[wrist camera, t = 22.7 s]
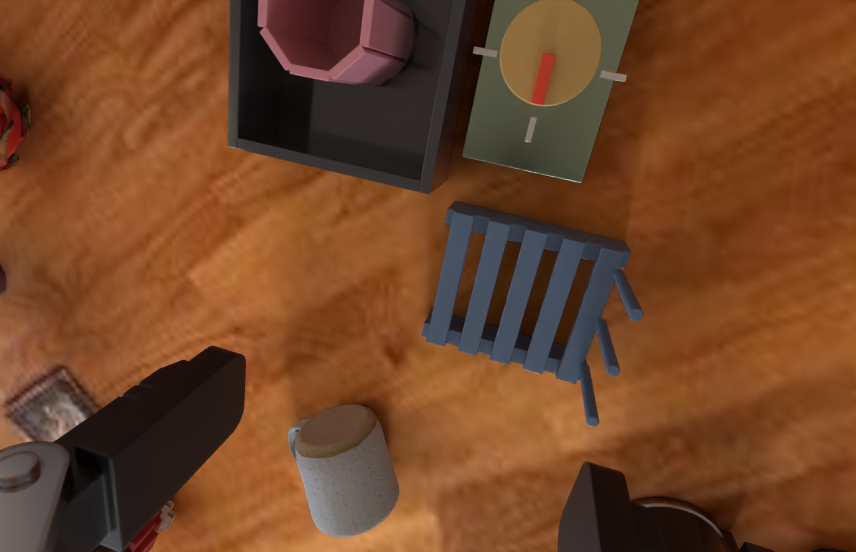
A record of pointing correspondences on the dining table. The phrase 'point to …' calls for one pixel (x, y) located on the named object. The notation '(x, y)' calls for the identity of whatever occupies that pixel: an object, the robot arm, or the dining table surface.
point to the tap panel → (544, 125)
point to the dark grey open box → (357, 102)
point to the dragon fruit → (11, 124)
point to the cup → (339, 38)
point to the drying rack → (506, 338)
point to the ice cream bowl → (2, 281)
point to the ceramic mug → (345, 469)
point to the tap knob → (550, 52)
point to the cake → (147, 531)
